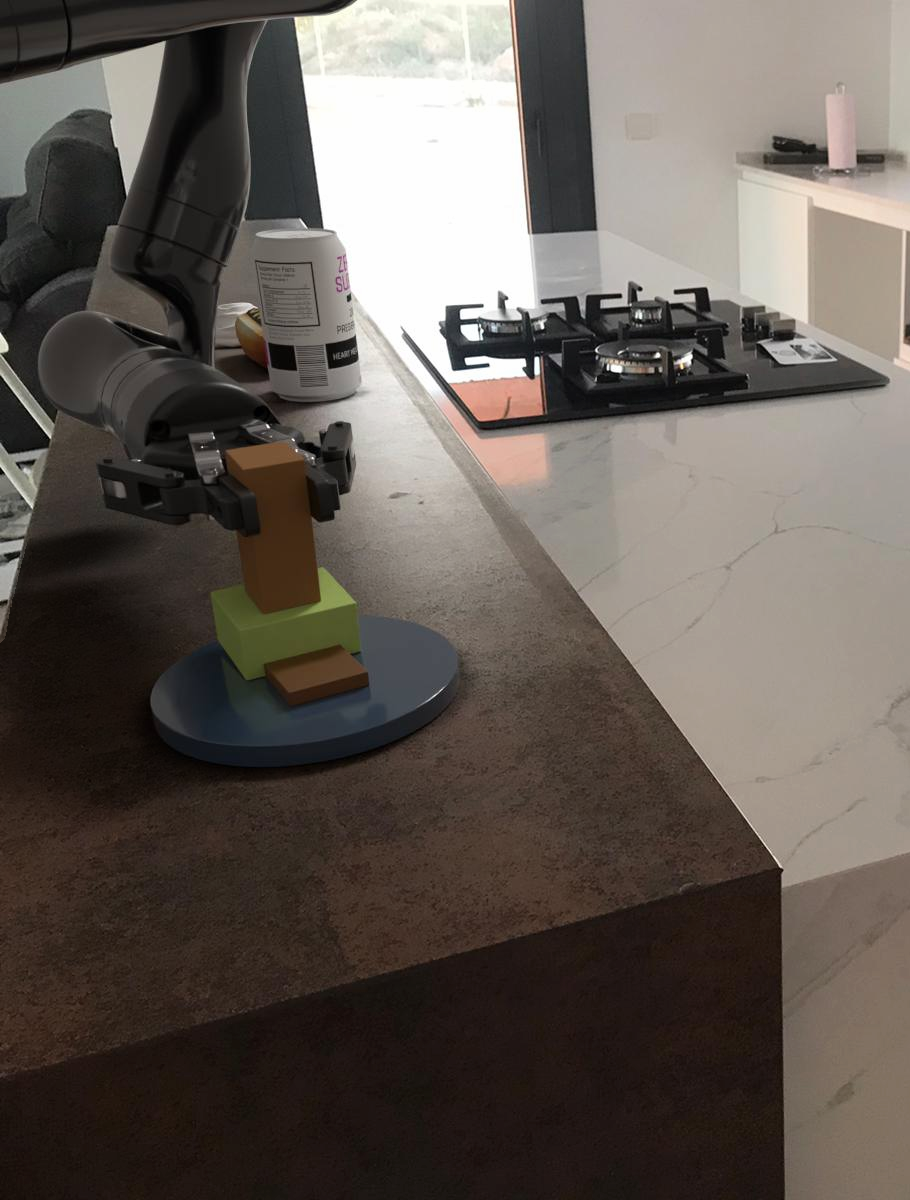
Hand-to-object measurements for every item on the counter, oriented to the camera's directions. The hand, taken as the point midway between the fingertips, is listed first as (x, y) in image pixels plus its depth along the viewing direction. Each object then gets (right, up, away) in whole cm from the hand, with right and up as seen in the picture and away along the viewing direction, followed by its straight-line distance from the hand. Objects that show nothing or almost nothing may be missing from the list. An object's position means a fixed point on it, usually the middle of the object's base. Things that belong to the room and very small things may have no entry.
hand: (289, 509), depth 63 cm
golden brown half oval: (-31, +20, +72) cm, 81 cm away
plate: (0, -9, +4) cm, 10 cm away
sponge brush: (-2, -7, +6) cm, 10 cm away
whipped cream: (-39, +24, +81) cm, 93 cm away
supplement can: (-22, +15, +61) cm, 67 cm away
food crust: (0, -9, +3) cm, 9 cm away
